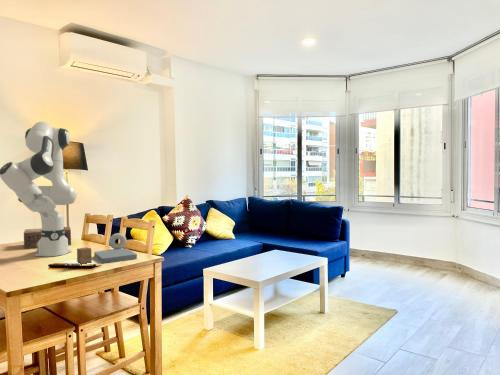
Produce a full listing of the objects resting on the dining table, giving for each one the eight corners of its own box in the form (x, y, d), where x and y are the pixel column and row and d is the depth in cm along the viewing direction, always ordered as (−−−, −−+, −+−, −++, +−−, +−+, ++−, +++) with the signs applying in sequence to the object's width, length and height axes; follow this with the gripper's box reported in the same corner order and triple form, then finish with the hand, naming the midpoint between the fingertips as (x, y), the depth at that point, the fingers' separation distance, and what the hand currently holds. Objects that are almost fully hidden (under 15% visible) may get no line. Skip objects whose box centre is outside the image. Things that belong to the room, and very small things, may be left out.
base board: (94, 256, 215) (94, 252, 215) (126, 252, 225) (126, 248, 225) (102, 263, 200) (102, 258, 200) (136, 258, 210) (136, 254, 210)
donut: (109, 250, 230) (108, 234, 229) (109, 249, 233) (109, 233, 233) (126, 249, 233) (126, 233, 232) (126, 248, 236) (126, 232, 236)
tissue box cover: (70, 241, 258) (69, 226, 257) (71, 245, 245) (70, 229, 244) (25, 244, 246) (25, 229, 246) (24, 249, 233) (23, 233, 233)
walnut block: (77, 266, 194) (77, 248, 194) (87, 264, 198) (86, 247, 197) (81, 268, 191) (81, 250, 190) (91, 266, 194) (91, 248, 194)
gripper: (46, 189, 170) (67, 211, 176) (27, 190, 182) (47, 212, 189) (34, 198, 166) (56, 221, 172) (16, 199, 179) (37, 221, 185)
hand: (51, 216), depth 181 cm, fingers open, 8 cm apart
